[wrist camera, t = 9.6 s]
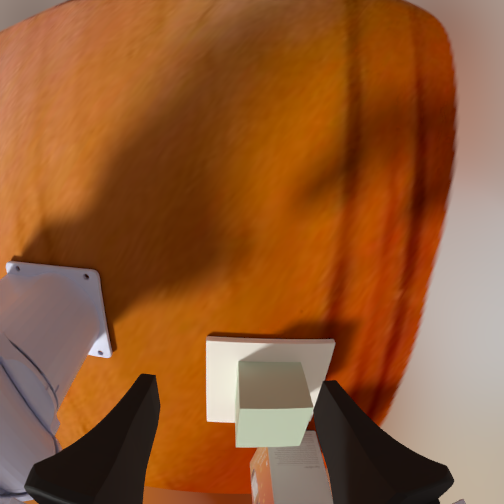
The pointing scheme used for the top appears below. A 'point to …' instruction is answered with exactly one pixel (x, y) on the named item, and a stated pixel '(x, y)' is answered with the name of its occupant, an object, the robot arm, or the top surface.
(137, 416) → the robot arm
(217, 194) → the top surface
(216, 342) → the tile
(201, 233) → the top surface
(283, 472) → the small box
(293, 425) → the cube
